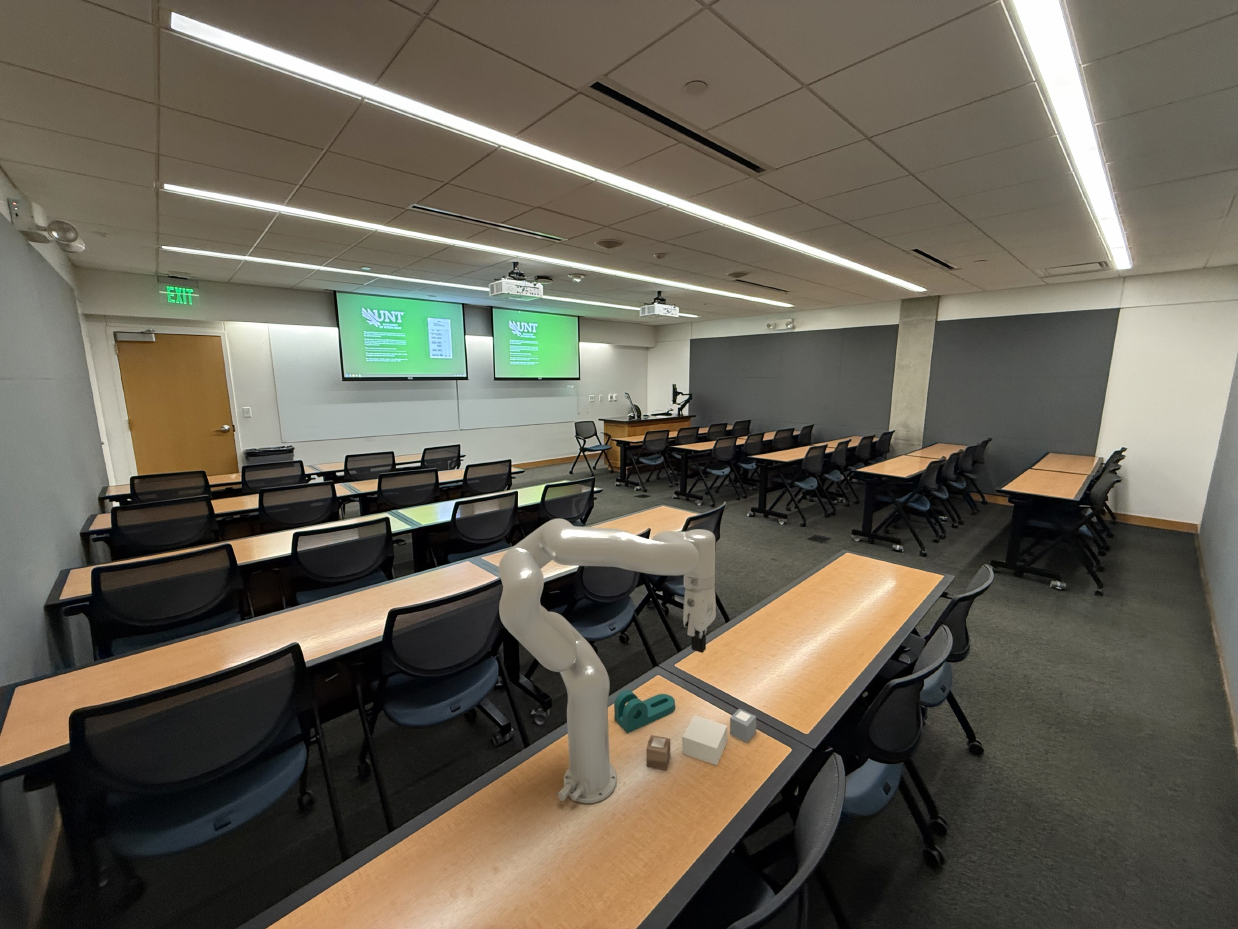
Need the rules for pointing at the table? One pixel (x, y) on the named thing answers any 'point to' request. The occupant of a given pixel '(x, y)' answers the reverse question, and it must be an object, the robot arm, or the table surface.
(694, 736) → the plain block
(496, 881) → the table surface
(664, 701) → the bracket
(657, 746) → the walnut block
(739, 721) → the slate block
